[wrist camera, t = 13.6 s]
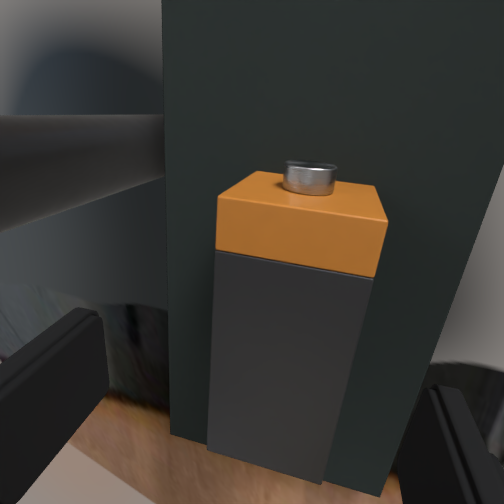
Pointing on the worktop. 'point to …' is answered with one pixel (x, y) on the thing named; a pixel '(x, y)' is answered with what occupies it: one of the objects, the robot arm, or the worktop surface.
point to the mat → (349, 170)
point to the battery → (288, 312)
